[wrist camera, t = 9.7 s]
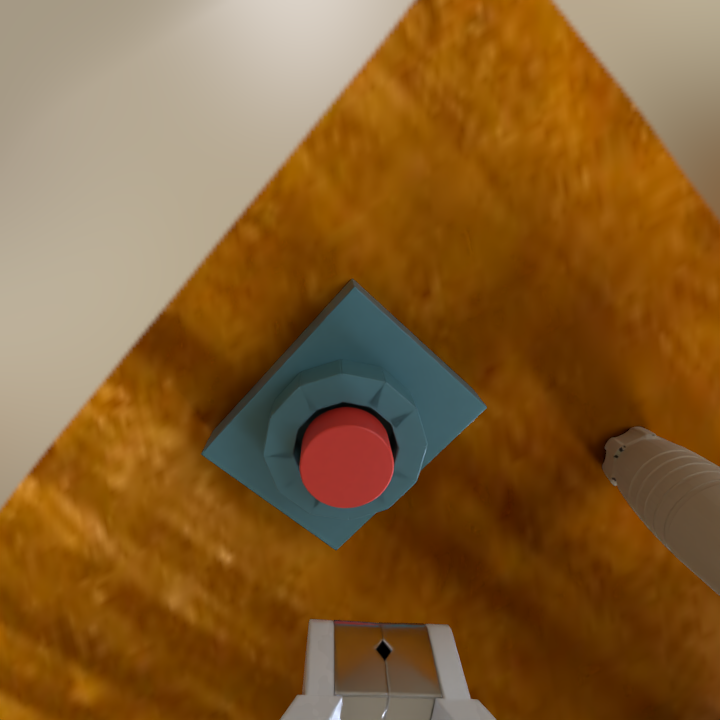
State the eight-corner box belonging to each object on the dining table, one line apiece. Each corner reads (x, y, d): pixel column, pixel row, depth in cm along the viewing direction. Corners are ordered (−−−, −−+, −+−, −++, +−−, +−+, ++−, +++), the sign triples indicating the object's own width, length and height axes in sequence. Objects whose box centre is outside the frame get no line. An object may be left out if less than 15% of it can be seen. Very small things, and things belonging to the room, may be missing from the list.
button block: (335, 522, 25) (336, 579, 21) (212, 431, 23) (188, 476, 19) (473, 389, 23) (501, 425, 19) (352, 278, 21) (357, 294, 17)
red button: (348, 499, 20) (350, 525, 19) (283, 450, 20) (279, 473, 18) (406, 442, 20) (413, 464, 18) (342, 388, 19) (343, 406, 17)
